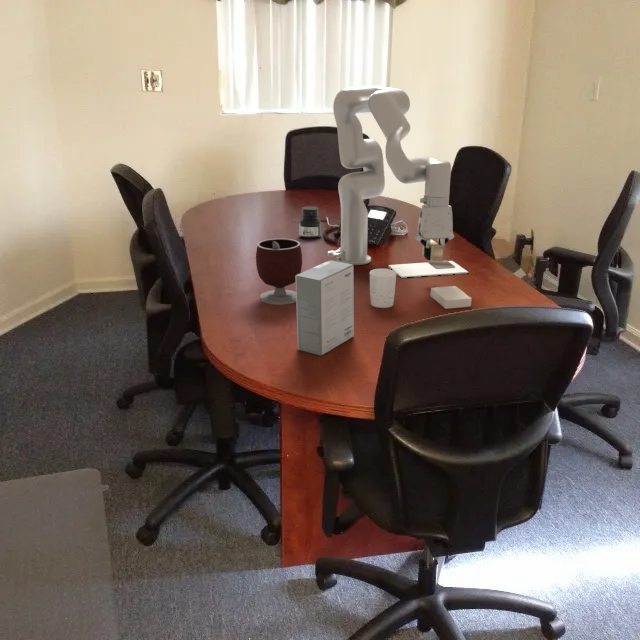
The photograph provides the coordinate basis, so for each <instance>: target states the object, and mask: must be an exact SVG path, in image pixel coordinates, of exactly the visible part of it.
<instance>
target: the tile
mask: <svg viewBox="0 0 640 640" xmlns="http://www.w3.org/2000/svg"><path fill="white" fill-rule="evenodd" d="M430 296H431V298H432V299H434V300H435V301H436V302H437V303H438V304H439V305H440V306H441V307H443V308H444V309H457V308H469V307H471V306H472V300H473V299H472V297H471V296H469V294H468V295H467V294H466V293H465V292H464V291H463V290H462V289H460V288H459V287H458V286H456V285H452V286H449V285H448V286H437V287H430Z"/></svg>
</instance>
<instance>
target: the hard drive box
mask: <svg viewBox="0 0 640 640" xmlns="http://www.w3.org/2000/svg"><path fill="white" fill-rule="evenodd" d="M354 270H355V269H354V265H353V264H348V263H343V262H337V260H327V261H325V262H322V263H321V264H318V265H316V266H314V267H312V268H309V269H307V270H304V271H303V272H302V271H301V273H300V274H298V275H296V276H295V278H296V282H295V292H296V302H295V303H296V306H295V307H296V331H297V333H296V334H297V336H296V337H297V350H299V351H302V352H306V353H309V354H312V355H313V354H314V355H316V356H320V357H321V356H323V355H325V354H326V353H328V352H330V351H331V350H333V349H335V348H336V347H338V346H339V345H341V344H343V343H345V342H346V341H348V340H350V339H351V338H353V337H354V336H355V325H354V324H355V322H354V319H355V313H354V311H355V310H354V309H355V308H354V307H355V306H354V305H355V304H354V303H355V302H354V299H355V298H354V296H355V295H354V293H355V291H354V286H355V285H354V284H355V283H354V282H355V281H354Z"/></svg>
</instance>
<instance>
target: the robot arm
mask: <svg viewBox="0 0 640 640" xmlns="http://www.w3.org/2000/svg"><path fill="white" fill-rule="evenodd" d="M409 97H410V96H409V95H408V93H407V92H405V91H404V90H403V89H400V88H393V87H386V86H382V85H381V86H380V85H357V86H356V85H355V86H353V85H352V86H348V87H345V88H342V89H340V90H339V91H338V92H337V93H336V95H335V97H334V100H333V107H332V109H333V111H332V112H333V115H334V121H335V124H336V128H337V129H336V130H337V140H338V141H337V142H338V153H339V159H340V164H341V166H343V168H345V169H348V170H349V169H350V170H353V169H362V168H363V171H356V172H351V173H349V172H348V173H347V174H345V175H343V176H341V178H340V179H339V181H338V185H337V187H338V188H337V189H338V190H337V191H338V195H339V202H340V247H338V249H335V250H327V257H332V258H336V260H335V261H337V262H343V263H348V264H353V266H361V265H362V266H364V265H366V264H369V263H371V262H372V257H371V256H370V255H368V225H369V224H368V221H369V220H368V219H369V218H368V217H369V216H368V215H369V214H368V209H367V207H366V204H365V202H364V200H366V199H373V198H378V197H379V196H380V195H382V194H383V192H384V190H385V187H386V186H385V184H386V183H385V182H386V181H385V166H384V154H383V150H382V147H381V145H380V143H379V142H378V141H377V140H375V139H372V138H364V135H363V134H364V133H363V125H362V123H361V121H360V119H359V118H358V116H357V115H356V114H361V113H364V114H365V113H370V114H371V115H372V116H373V118H374V120H375V122H376V123H377V125H378V127H379V129H380V130H381V132H382V134H383V136H384V137H385V139H386V142H385V159H386V160H385V161H386V163H387V165H388V167H389V168H390V170H391V173H392V174H393V176H394V177H395V179H396V180H398V181H399V183H402V184H406V185H409V184H415V183H423V182H425V183H424V195H423V197H421V198H420V199H419V202H420V203H422V204H423V205H422V206H421V208H420V212H419V216H418V226H417V231H416V233H415V235H414V237H413V240H415V241H417V242H419V243H421V245H422V244H423V246H424V256H423V257H424V259H426V260H427V261H430V256H431V248H430V241H431V239H432V240H437V243H438V244H439V245H441V246H442V247H443V248H445V245H446V244H448V242H449V241H451V240H453V239H454V238H455V234H454V232H453V227H454V225H453V224H454V223H453V211H452V210H453V209H452V206H451V205H449V204H450V203H449V202H450V192H451V191H450V189H451V188H450V187H451V176H452V175H451V174H452V173H451V172H452V164H451V162H449V161H448V160H443V159H436V158H433V157H430V156H420V157H410V158H408V157H407V155H406V154H405V152H404V150H403V148H402V144H401V141H403V140H404V138H406V137H407V136H408V134H409V133H410V131H411V124H410V123H409V121H408V119H407V117H406V116H405V114H407V113H408V112H409V110H410V107H411V101H410V98H409Z"/></svg>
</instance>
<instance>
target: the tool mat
mask: <svg viewBox="0 0 640 640" xmlns="http://www.w3.org/2000/svg"><path fill="white" fill-rule="evenodd" d="M447 261H448V262H450V263H451V264H453V265H454V266H455V268H449V269H435V268H434V267H433V266H431V265H430V264H429V263H428V261H427V262H415V263H400V264H389V265H388V269H392V270H394V271H396V273H397V274H396V276H398V277H399V276H400V277H401V279H408V278H407V277H414V278H422V277H421V276H428V277H438V275H441V276H454V275H453V274H455V275H467V273H468V274H469V271H468V270H466V269H465V268H463V267H462V266H461V265H460V264H458V263H456V262H455V261H453V260H447ZM400 277H399V278H400Z"/></svg>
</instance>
